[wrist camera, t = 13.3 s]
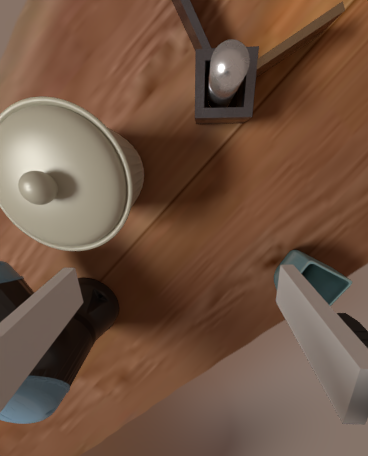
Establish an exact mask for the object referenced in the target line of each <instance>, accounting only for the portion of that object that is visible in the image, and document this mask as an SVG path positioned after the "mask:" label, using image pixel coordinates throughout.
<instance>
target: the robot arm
mask: <svg viewBox="0 0 368 456" xmlns="http://www.w3.org/2000/svg"><path fill="white" fill-rule="evenodd" d="M276 303H277V305H278V307H279V308H280V310H281V312H282V314H283V316H284V318H285V319H286V321H287V323H288V325H289V327H290V328H291V330H292V332H293V334H294V336H295V338H296V339H297V341H298V343H299V345H300V347H301V349H302V350H303V352H304V354H305V356H306V357H307V360H308V361H309V363H310V365H311V367H312V369H313V370H314V372H315V374H316V376H317V378H318V380H319V382H320V383H321V385H322V387H323V389H324V391H325V392H326V394H327V396H328V398H329V400H330V402H331V403H332V405H333V407H334V409H335V411H336V413H337V414H338V416H339V418H340V420H341V422H342V424H363V425H364V424H365V423H366V421H367V418H368V331H367V330H366V329H365V328H364V327H363V326H362V325H361V324H360V323H359V322H358V321H357V320H355V319H354V318H352V317H350V316H349V315H348V314H346V313H336V312H335V311H334V310H333V309H332V308H331V307H330V306H329V304H328V303H327V302H326V301H325V300H324V299H323V298H322V297H321V295H320V294H319V293H318V292H317V291H316V290H315V289H314V288H313V286H312V285H311V284H310V283H309V282H308V281H307V280H306V279H305V277H304V276H303V275H302V274H301V273H300V272H299V271H298V270H297V268H296V267H295V266H294V265H280V271H279V280H278V288H277V296H276ZM118 312H119V304H118V301H117V298H116V297H115V295H114V293H113V292H112V291H111V290H110V289H109V288H108V287H107V286H105V285H104V284H102V283H100V282H98V281H96V280H93V279H88V278H77V274H76V270H75V268H63V269H62V270H61V271H60V272H58V273H57V274H56V275H55V276H54V277H53V278H51V279H50V280H49V281H48V282H47V283H46V284H44V285H43V286H42V287H41V288H40V289H39V290H37V291H36V292H35V293H34V292H33V291H32V289H31V288H30V287H29V286H28V284H27V283H26V282H25V281H24V278H23V277H22V276H20V275H19V274H18V273H17V272H16V271H15V270H14V269H13V268H12V267H11V266H10V265H9V264H8V263H6V262H3V261H0V420H2V421H6V422H12V423H22V424H25V423H35V422H39V421H42V420H44V419H46V418H48V417H49V416H50V415H52V414H53V413H54V411H55V410H56V409H57V407H58V406H59V404H60V403H61V401H62V400H63V398H64V396H65V395H66V393H68V391H69V389H70V386H71V384H72V382H73V381H74V379H75V377H76V375H77V373H78V371H79V370H80V368H81V366H82V364H83V362H84V361H85V359H86V357H87V355H88V353H89V352H90V350H91V348H92V346H93V344H94V343H95V341H96V340H97V339H98V338H99V337H100V336H101V335H102V334H103V333H104V332H105V331H107V330H108V329H109V328H110V327H111V326H112V325H113V323H114V321H115V319H116V318H117V315H118Z"/></svg>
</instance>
